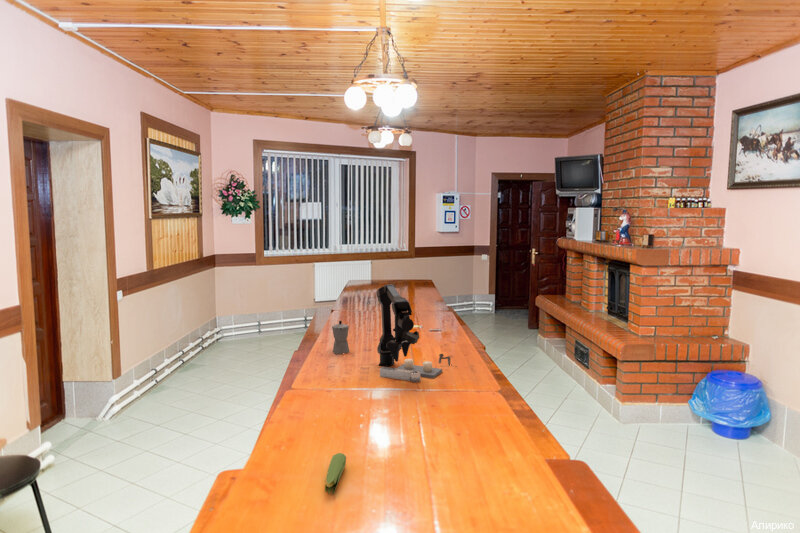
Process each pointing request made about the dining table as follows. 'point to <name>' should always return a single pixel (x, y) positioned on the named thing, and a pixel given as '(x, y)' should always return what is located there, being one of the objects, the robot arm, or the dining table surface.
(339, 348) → the coffeepot
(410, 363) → the tool rack
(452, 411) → the dining table surface
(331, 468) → the edible corn
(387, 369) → the spanner
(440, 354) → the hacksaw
